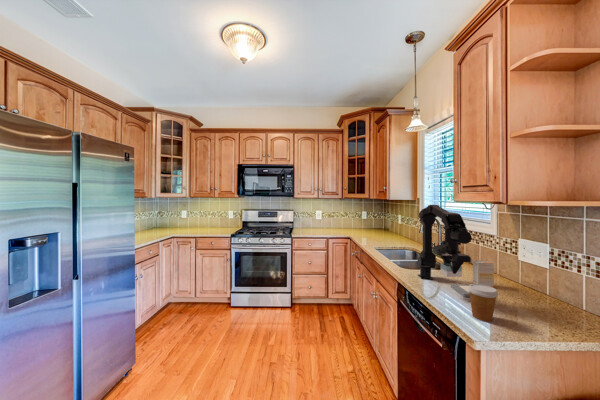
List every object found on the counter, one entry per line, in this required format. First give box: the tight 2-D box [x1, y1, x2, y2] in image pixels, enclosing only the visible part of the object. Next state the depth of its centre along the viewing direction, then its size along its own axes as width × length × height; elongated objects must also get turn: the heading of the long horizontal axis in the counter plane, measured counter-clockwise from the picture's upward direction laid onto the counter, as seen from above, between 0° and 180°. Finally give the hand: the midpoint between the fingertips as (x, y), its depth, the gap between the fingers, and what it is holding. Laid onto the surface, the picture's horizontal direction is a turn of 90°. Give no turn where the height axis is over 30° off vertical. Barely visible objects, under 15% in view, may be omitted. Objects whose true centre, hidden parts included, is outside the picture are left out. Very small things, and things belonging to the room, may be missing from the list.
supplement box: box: [472, 260, 495, 288], centre depth 129 cm, size 8×5×13 cm, turn 84°
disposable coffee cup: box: [468, 283, 499, 322], centre depth 95 cm, size 10×10×12 cm
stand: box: [450, 283, 470, 298], centre depth 120 cm, size 13×13×2 cm
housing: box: [440, 262, 463, 278], centre depth 115 cm, size 5×7×5 cm
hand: (450, 271), depth 115 cm, fingers closed on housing, 5 cm apart
